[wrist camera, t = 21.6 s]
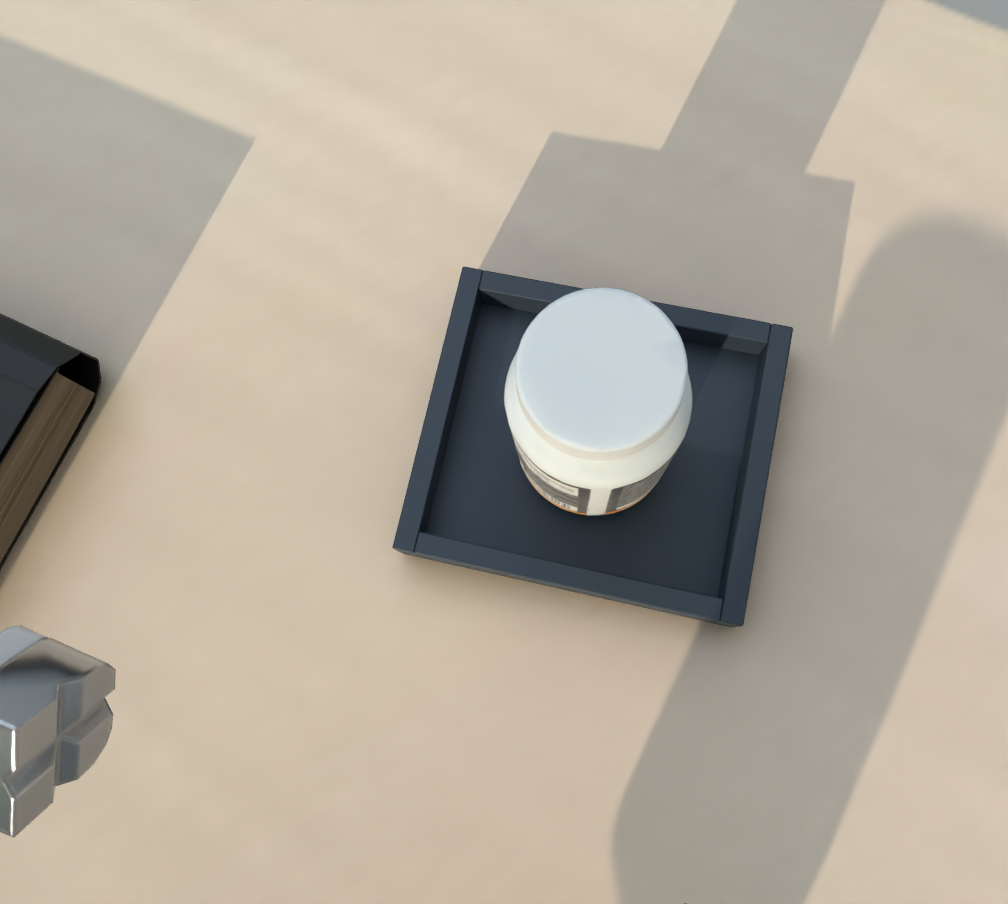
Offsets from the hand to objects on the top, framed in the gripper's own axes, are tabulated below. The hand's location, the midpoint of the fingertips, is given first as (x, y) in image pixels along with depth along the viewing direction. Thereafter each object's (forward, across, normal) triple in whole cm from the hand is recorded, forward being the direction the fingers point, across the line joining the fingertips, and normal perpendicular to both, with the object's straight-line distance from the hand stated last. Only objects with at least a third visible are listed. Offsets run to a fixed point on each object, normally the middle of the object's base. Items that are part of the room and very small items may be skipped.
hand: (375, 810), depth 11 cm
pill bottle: (+22, 0, +3) cm, 23 cm away
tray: (+23, 0, +3) cm, 23 cm away
